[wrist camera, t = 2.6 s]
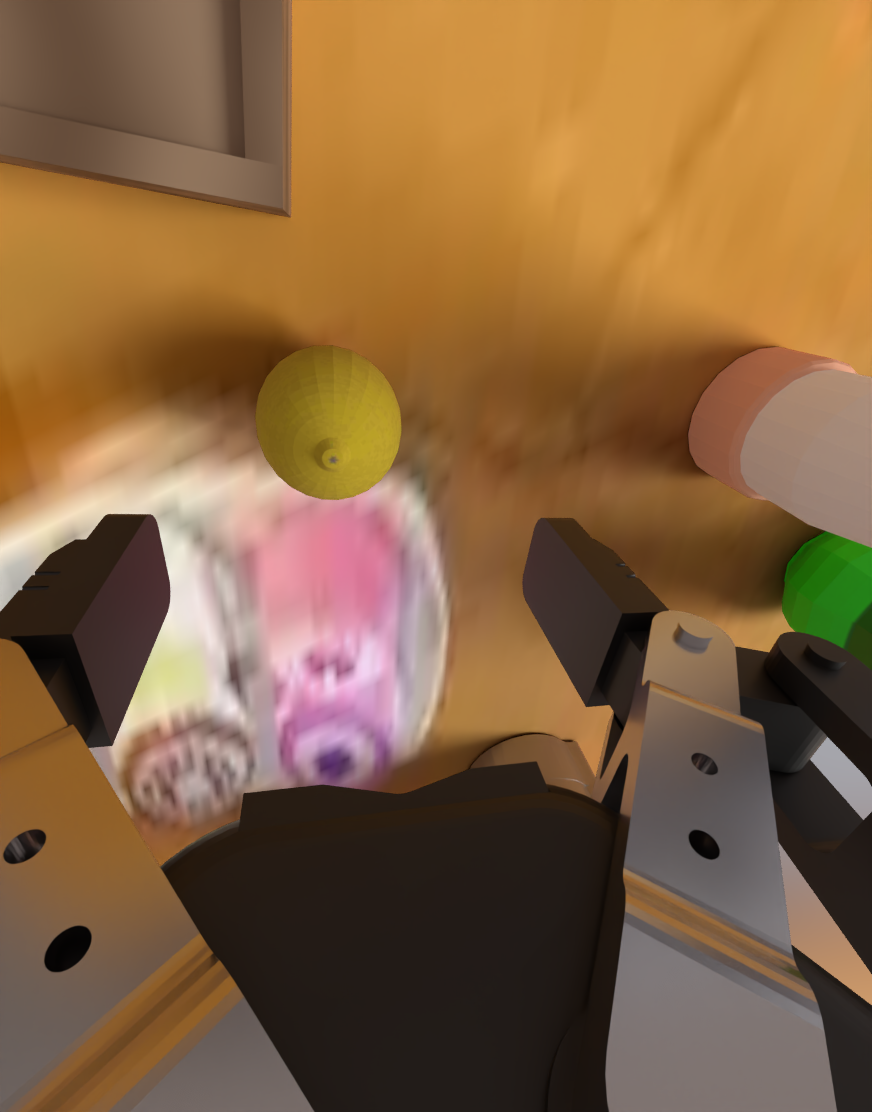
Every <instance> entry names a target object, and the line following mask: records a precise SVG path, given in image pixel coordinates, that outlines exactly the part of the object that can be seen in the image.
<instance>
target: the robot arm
mask: <svg viewBox="0 0 872 1112" xmlns="http://www.w3.org/2000/svg"><path fill="white" fill-rule="evenodd" d="M22 588H23V589H22V590H19V591H18V592H17V593H16V594H15V595H14V597H13V598H12V599H11V600H10V601H9V602H8V604H7V605H6V606H5V607H4V608H3V609H2V611H1V612H0V1112H872V1005H870V1004H869V1003H868V1002H866V1001H865V1000H864V999H863V998H861V997H860V996H858V995H857V994H856V993H855V992H853V991H852V990H851V989H849V988H848V987H847V986H845V985H844V984H843V983H841V982H840V981H839V980H838V979H836V978H835V977H834V976H832V975H831V974H830V973H828V972H827V971H826V970H824V969H823V968H822V967H820V966H819V965H818V964H816V963H815V962H814V961H812V960H811V959H810V958H808V957H807V956H806V955H805V954H803V953H802V952H801V951H799V950H798V949H797V948H795V947H794V946H793V945H791V939H790V931H789V923H788V916H787V907H786V899H785V891H784V884H783V876H782V868H781V860H780V852H779V844H778V842H779V843H780V845H781V846H782V847H783V849H784V850H785V852H786V853H787V854H788V856H789V857H790V859H791V860H792V862H793V863H794V865H795V866H796V867H797V869H798V870H799V872H800V873H801V874H802V876H803V877H804V879H805V880H806V882H807V883H808V884H809V886H810V887H811V889H812V890H813V891H814V893H815V894H816V896H817V897H818V899H819V900H820V901H821V903H822V904H823V906H824V907H825V908H826V910H827V911H828V913H829V914H830V916H831V917H832V918H833V920H834V921H835V923H836V924H837V925H838V927H839V928H840V930H841V931H842V933H843V934H844V935H845V937H846V938H847V940H848V941H849V942H850V944H851V945H852V947H853V948H854V949H855V951H856V952H857V954H858V955H859V957H860V958H861V960H862V961H863V962H864V964H865V965H866V967H867V968H868V969H869V971H870V972H871V974H872V812H871V813H870V814H869V815H868V816H867V817H866V818H865V819H864V820H863V819H862V818H861V817H860V816H859V815H858V814H857V813H856V812H855V810H854V809H853V808H852V807H851V806H850V804H849V803H847V801H846V800H845V799H844V798H843V797H842V795H841V794H840V793H839V792H838V791H837V790H836V789H835V788H834V786H833V785H832V784H831V783H830V782H829V781H828V779H827V778H826V777H825V776H824V775H823V774H822V773H821V772H820V771H819V769H818V768H817V767H816V766H815V765H814V764H813V762H812V761H811V760H810V758H811V757H812V755H813V754H814V753H815V752H816V751H817V749H818V748H819V747H820V746H821V744H822V743H823V742H824V740H825V739H826V738H827V737H828V738H829V739H830V740H831V741H832V742H833V743H834V744H835V745H836V746H837V747H838V748H839V749H840V750H841V751H842V752H843V753H844V754H845V755H846V756H847V757H848V759H850V761H851V762H852V763H853V764H854V765H855V766H856V767H857V768H858V769H859V770H860V771H861V772H862V773H863V774H864V775H865V777H866V778H867V779H868V781H869V782H870V784H871V786H872V670H871V669H869V668H868V667H867V666H866V665H864V664H863V663H862V662H861V661H860V660H858V659H857V658H856V657H855V656H853V655H852V654H851V653H849V652H848V651H846V650H845V649H843V648H841V647H840V646H838V645H836V644H834V643H832V642H830V641H828V640H825V639H823V638H820V637H817V636H814V635H810V634H806V633H801V632H787V633H783V634H782V635H780V636H779V638H778V639H777V641H776V643H775V644H774V646H773V647H772V649H771V651H770V652H763V651H758V650H752V649H746V648H741V647H735V645H734V643H733V641H732V640H731V638H730V637H729V636H728V635H727V634H726V633H725V632H724V631H723V630H722V629H720V628H719V627H718V626H716V625H715V624H713V623H711V622H710V621H708V620H706V619H704V618H702V617H699V616H696V615H694V614H690V613H687V612H682V611H669V610H668V609H667V608H666V606H665V605H664V604H663V603H662V602H661V601H660V600H659V599H658V598H657V597H656V596H655V595H654V594H653V593H652V592H651V591H650V589H649V588H648V587H647V586H646V585H645V584H644V583H643V582H642V581H641V580H640V579H639V578H636V577H635V574H634V572H633V571H632V570H631V569H630V568H629V567H628V566H625V563H624V562H623V561H622V560H621V559H620V558H619V557H618V555H617V554H616V553H615V552H614V551H613V550H611V549H610V548H608V547H606V546H605V545H603V544H601V543H600V542H598V541H596V540H595V539H592V538H591V537H590V536H589V535H588V533H587V532H586V531H585V530H584V529H583V528H582V527H581V526H580V525H579V524H578V522H577V521H576V520H574V519H573V518H541V519H539V520H538V522H537V523H536V525H535V528H534V532H533V536H532V541H531V545H530V549H529V553H528V557H527V561H526V566H525V570H524V574H523V593H524V597H525V600H526V602H527V604H528V606H529V607H530V609H531V611H532V613H533V614H534V616H535V618H536V620H537V621H538V623H539V625H540V627H541V628H542V630H543V632H544V634H545V636H546V637H547V639H548V641H549V643H550V644H551V646H552V648H553V650H554V651H555V653H556V655H557V657H558V658H559V660H560V662H561V664H562V665H563V667H564V669H565V671H566V672H567V674H568V676H569V678H570V679H571V681H572V683H573V685H574V687H575V688H576V690H577V692H578V694H579V695H580V697H581V699H582V701H583V702H584V704H585V706H586V707H592V706H603V705H610V706H611V708H612V710H613V713H612V715H611V718H610V720H609V723H608V726H607V730H606V735H605V739H604V743H603V748H602V752H601V756H600V761H599V765H598V770H597V774H596V777H595V776H594V774H593V772H592V770H591V768H590V766H589V764H588V762H587V760H586V758H585V756H584V754H583V752H582V751H581V749H580V747H579V745H578V743H577V742H576V741H574V742H564V741H562V740H560V739H558V738H556V737H553V736H549V735H541V734H533V735H524V736H520V737H515V738H512V739H509V740H507V741H504V742H501V743H499V744H498V745H496V746H494V747H492V748H490V749H489V750H487V751H486V752H485V753H483V754H482V755H481V756H480V757H479V758H478V759H477V760H476V761H475V762H474V763H473V764H472V766H471V768H470V769H469V770H466V771H463V772H461V773H458V774H456V775H453V776H450V777H448V778H445V779H443V780H440V781H437V782H435V783H432V784H430V785H427V786H424V787H422V788H419V789H417V790H414V791H411V792H408V793H404V794H392V793H384V792H376V791H369V790H361V789H353V788H345V787H337V786H329V785H316V786H307V787H298V788H288V789H279V790H270V791H261V792H252V793H244V795H243V802H242V810H241V817H240V820H237V821H235V822H232V823H229V824H227V825H225V826H223V827H221V828H218V829H216V830H214V831H212V832H210V833H208V834H206V835H205V836H203V837H201V838H200V839H198V840H196V841H195V842H193V843H191V844H190V845H188V846H187V847H185V848H184V849H182V850H181V851H180V852H178V853H177V854H176V855H174V856H173V857H172V858H170V859H169V860H168V861H166V862H165V863H164V864H163V865H162V866H161V867H160V866H159V864H158V863H157V861H156V859H155V858H154V856H153V855H152V853H151V851H150V850H149V848H148V846H147V845H146V843H145V841H144V840H143V838H142V836H141V835H140V833H139V831H138V830H137V828H136V826H135V825H134V823H133V821H132V820H131V818H130V816H129V815H128V813H127V811H126V810H125V808H124V806H123V805H122V803H121V801H120V800H119V798H118V797H117V795H116V793H115V792H114V790H113V788H112V787H111V785H110V783H109V782H108V780H107V778H106V777H105V775H104V773H103V772H102V770H101V768H100V767H99V765H98V763H97V762H96V760H95V758H94V757H93V755H92V753H91V752H90V750H89V748H93V747H104V746H112V745H113V743H114V740H115V738H116V735H117V733H118V731H119V728H120V726H121V723H122V721H123V719H124V716H125V714H126V711H127V709H128V706H129V704H130V702H131V699H132V697H133V694H134V692H135V690H136V687H137V685H138V682H139V680H140V677H141V675H142V673H143V670H144V668H145V665H146V663H147V661H148V658H149V656H150V653H151V651H152V648H153V646H154V644H155V641H156V639H157V636H158V634H159V632H160V629H161V627H162V624H163V622H164V619H165V617H166V615H167V612H168V609H169V604H170V581H169V576H168V571H167V567H166V562H165V557H164V552H163V548H162V543H161V538H160V533H159V528H158V524H157V522H156V519H155V518H154V516H153V515H151V514H107V515H105V516H104V518H103V519H102V520H101V521H100V523H99V524H98V525H97V526H96V528H95V529H94V530H93V532H92V533H91V534H90V535H89V537H88V538H87V539H86V540H74V541H72V542H71V543H69V544H67V545H65V546H64V547H62V548H60V549H58V550H57V551H55V552H53V553H52V554H50V555H49V556H48V557H47V558H46V560H45V561H44V562H43V563H42V564H41V565H40V567H39V568H38V569H37V570H36V571H35V575H32V576H31V577H30V578H29V579H28V580H27V582H26V583H25V584H24V585H23V586H22Z"/></svg>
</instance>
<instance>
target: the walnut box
mask: <svg viewBox="0 0 872 1112" xmlns="http://www.w3.org/2000/svg"><path fill="white" fill-rule="evenodd" d="M291 105H292V0H0V162H2V163H7V164H12V165H18V166H23V167H28V168H34V169H39V170H44V171H49V172H55V173H60V174H65V175H70V176H76V177H81V178H86V179H92V180H97V181H102V182H107V183H113V184H118V185H123V186H129V187H134V188H139V189H144V190H150V191H155V192H160V193H165V194H171V195H176V196H181V197H187V198H192V199H197V200H202V201H208V202H213V203H218V204H223V205H229V206H234V207H239V208H245V209H250V210H255V211H260V212H266V213H271V214H276V215H281V216H287V217H291Z"/></svg>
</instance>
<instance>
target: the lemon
mask: <svg viewBox="0 0 872 1112" xmlns="http://www.w3.org/2000/svg"><path fill="white" fill-rule="evenodd" d="M255 420H256V429H257V437H258V440H259V443H260V445H261V448H262V451H263V453H264V456H265V458H266V460H267V461H268V462H269V464H270V465H271V467H272V468H273V470H274V471H275V472H276V474H277V475H278V476H279V477H280V478H281V479H283V480H284V481H285V482H286V483H287V484H288V485H289V486H291V487H292V488H294V489H296V490H298V491H300V492H302V493H304V494H306V495H308V496H312V497H316V498H319V499H328V500H340V499H345V498H350V497H354V496H356V495H358V494H361V493H363V492H365V491H367V490H369V489H370V488H371V487H373V486H374V485H375V484H376V483H378V482H379V481H380V480H381V479H382V478H383V476H384V475H385V474H386V473H387V471H388V470H389V469H390V467H391V465H392V463H393V461H394V458H395V456H396V454H397V452H398V449H399V443H400V437H401V431H402V428H401V416H400V408H399V405H398V402H397V400H396V397H395V394H394V391H393V389H392V387H391V386H390V384H389V383H388V381H387V380H386V378H385V377H384V375H383V374H382V372H381V371H380V370H379V369H377V368H376V367H375V366H374V365H373V364H372V363H371V362H370V361H369V360H367V359H366V358H364V357H362V356H360V355H359V354H357V353H355V352H353V351H351V350H348V349H344V348H340V347H336V346H312V347H308V348H305V349H302V350H298V351H295V352H294V353H292V354H291V355H289V356H288V357H286V358H284V359H283V360H281V361H280V362H279V363H278V364H277V365H276V366H275V367H274V369H273V370H272V371H271V372H270V373H269V374H268V375H267V377H266V379H265V381H264V384H263V386H262V388H261V390H260V392H259V395H258V400H257V407H256V413H255Z"/></svg>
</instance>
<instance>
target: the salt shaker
mask: <svg viewBox="0 0 872 1112" xmlns="http://www.w3.org/2000/svg"><path fill="white" fill-rule="evenodd" d="M688 438H689V450H690V453H691V455H692V457H693V459H694V461H695V463H696V465H697V466H698V467H699V468H701V469H702V470H704V471H705V472H706V473H708V474H709V475H711V476H713V477H714V478H716V479H718V480H719V481H721V482H723V483H724V484H726V485H728V486H730V487H731V488H733V489H735V490H736V491H738V492H740V493H741V494H743V495H745V496H747V497H749V498H754V499H759V500H769V501H771V502H772V503H774V504H776V505H777V506H779V507H781V508H782V509H784V510H785V511H787V512H789V513H790V514H792V515H794V516H795V517H797V518H798V519H800V520H802V521H803V522H805V523H807V524H808V525H811V526H814V527H816V528H819V529H822V530H825V531H827V532H830V533H833V534H835V535H838V536H841V537H844V538H846V539H849V540H852V541H855V542H857V543H860V544H863V545H866V546H868V547H871V548H872V377H869V376H864V375H859V374H857V373H856V372H855V370H854V369H853V368H852V367H851V366H850V365H849V364H847V363H844V362H841V361H838V360H834V359H831V358H827V357H822V356H817V355H813V354H808V353H804V352H799V351H795V350H790V349H786V348H781V347H772V348H763V349H757V350H755V351H753V352H751V353H749V354H746V355H744V356H742V357H740V358H738V359H737V360H735V361H734V362H733V363H732V364H730V365H729V366H728V367H726V368H725V369H724V370H723V371H721V372H720V373H719V374H718V375H717V376H716V378H715V379H714V380H713V381H712V383H711V384H710V385H709V386H708V388H707V389H706V390H705V391H704V392H703V394H702V396H701V398H700V400H699V402H698V404H697V406H696V408H695V410H694V412H693V415H692V419H691V424H690V428H689V432H688Z"/></svg>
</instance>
